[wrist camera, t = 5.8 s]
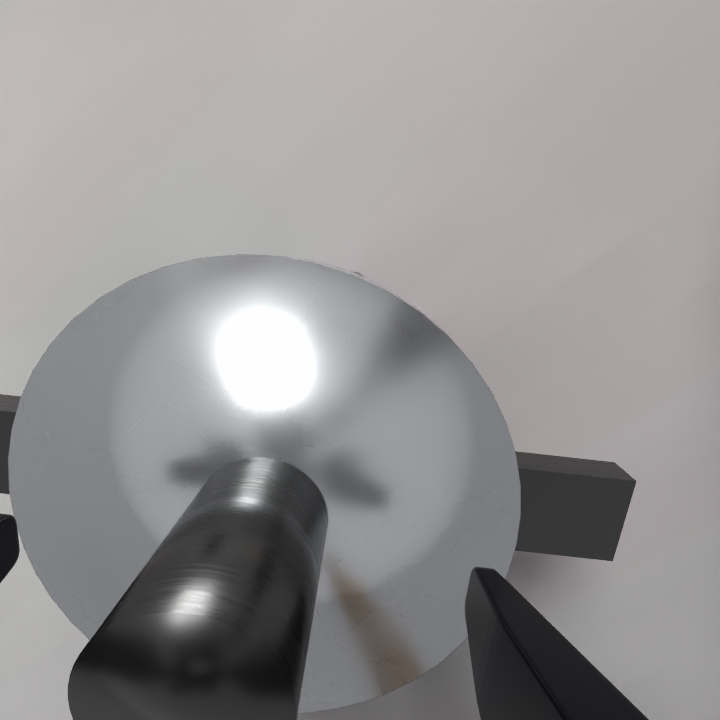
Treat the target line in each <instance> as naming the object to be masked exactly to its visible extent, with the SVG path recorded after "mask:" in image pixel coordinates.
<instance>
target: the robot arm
mask: <svg viewBox="0 0 720 720" xmlns="http://www.w3.org/2000/svg"><path fill="white" fill-rule="evenodd" d="M18 556H19V540H18V530H17V522H16V519H15V518H14V516H12V515H7V514H0V583H1V582H2V580H3V579H4V578H5V576H6V575H7V574H8V573H9V571H10V570H11V569H12V567H13V566H14V565H15V563H16V561H17V559H18ZM465 618H466V626H467V633H468V640H469V647H470V655H471V662H472V669H473V676H474V684H475V690H476V697H477V703H478V708H479V712H480V717H481V720H649V719H648V718H647V717H646V716H644V715H643V714H642V713H641V712H640V711H639V710H638V709H637V708H636V707H635V706H634V705H633V704H632V703H631V702H630V701H629V700H628V699H627V698H626V697H625V696H624V695H623V694H622V693H621V692H620V691H619V690H618V689H617V688H616V687H615V686H614V685H613V684H612V683H611V682H610V681H609V680H608V679H607V678H606V677H605V676H604V675H603V674H602V673H601V672H600V671H598V670H597V669H596V668H595V667H594V666H593V665H592V664H591V663H590V662H589V661H588V660H587V659H586V658H585V657H584V656H583V655H582V654H581V653H580V652H579V651H578V650H577V649H576V648H575V647H574V646H573V645H572V644H571V643H570V642H569V641H568V640H567V639H566V638H565V637H564V636H563V635H562V634H561V633H560V632H559V631H558V630H557V629H556V628H555V627H554V626H552V625H551V624H550V623H549V622H548V621H547V620H546V619H545V618H544V617H543V616H542V615H541V614H540V613H539V612H538V611H537V610H536V609H535V608H534V607H533V606H532V605H531V604H530V603H529V602H528V601H527V600H526V599H525V598H524V597H523V596H522V595H521V594H520V593H519V592H518V591H517V590H516V589H515V588H514V587H513V586H512V585H511V584H510V583H509V582H508V581H506V580H505V579H504V578H503V577H502V576H501V575H500V574H499V573H498V572H497V571H496V570H495V569H492V568H484V567H474V568H473V569H472V571H471V574H470V579H469V584H468V589H467V594H466V599H465Z"/></svg>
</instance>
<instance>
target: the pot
mask: <svg viewBox="0 0 720 720" xmlns="http://www.w3.org/2000/svg"><path fill="white" fill-rule="evenodd" d="M353 273H356V274H358V275H360V276H362V275H361V274H359V273H357V272H353ZM362 277H363V276H362ZM364 278H365V277H364ZM20 398H21V397H20V396H11V395H2V394H0V493H4V494H10V491H9V469H8V457H9V448H10V439H11V431H12V426H13V423H14V419H15V415H16V412H17V408H18V404H19V401H20ZM515 453H516V458H517V465H518V472H519V478H520V485H521V516H520V523H519V529H518V536H517V543H516V547H515V550H517V551H526V552H535V553H544V554H553V555H562V556H571V557H580V558H589V559H598V560H607V561H613V558H614V555H615V552H616V548H617V545H618V541H619V538H620V535H621V531H622V528H623V524H624V521H625V518H626V514H627V511H628V508H629V504H630V501H631V497H632V494H633V491H634V487H635V484H636V480H634V479H633V478H632V477H631V476H630V475H629V474H627V473H626V472H625V471H624V470H623V469H621V468H620V467H619V466H618V465H617V464H616V463H614V462H605V461H596V460H587V459H578V458H569V457H560V456H551V455H542V454H533V453H524V452H515Z"/></svg>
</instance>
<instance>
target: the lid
mask: <svg viewBox="0 0 720 720" xmlns="http://www.w3.org/2000/svg"><path fill="white" fill-rule="evenodd" d="M8 469H9V491H10V497H11V502H12V508H13V514H14V518H15V519H16V522H17V528H18V531H19V534H20V538H21V541H22V544H23V547H24V549H25V551H26V553H27V555H28V557H29V560H30V562H31V564H32V566H33V568H34V570H35V572H36V574H37V576H38V577H39V579H40V581H41V582H42V584H43V585H44V587H45V588H46V590H47V592H48V593H49V595H50V596H51V598H52V599H53V601H54V602H55V603H56V604H57V605H58V607H59V608H60V609H61V610H62V612H63V613H64V614H65V615H66V616H67V618H68V619H69V620H70V621H71V622H72V623H73V624H74V625H75V626H76V627H77V628H78V629H79V630H80V631H81V632H82V633H83V634H84V635H85V636H86V637H87V638H88V639H89V640H90V641H89V642H88V644H87V645H86V646H85V648H84V649H83V650H82V652H81V653H80V655H79V656H78V658H77V660H76V662H75V663H74V666H73V668H72V671H71V674H70V678H69V684H68V701H69V707H70V711H71V714H72V717H73V720H296V719H297V713H310V712H317V711H323V710H330V709H337V708H341V707H345V706H349V705H353V704H357V703H361V702H364V701H367V700H370V699H373V698H375V697H378V696H381V695H383V694H386V693H388V692H391V691H393V690H395V689H397V688H399V687H401V686H403V685H405V684H407V683H409V682H411V681H412V680H414V679H416V678H418V677H419V676H421V675H422V674H424V673H425V672H427V671H428V670H430V669H431V668H433V667H434V666H436V665H437V664H439V663H440V662H441V661H442V660H443V659H445V658H446V657H447V656H448V655H449V654H450V653H451V652H453V651H454V650H455V649H456V648H457V647H458V646H459V645H460V644H462V642H463V641H464V640H465V639H466V638H467V637H468V633H467V626H466V618H465V599H466V594H467V589H468V584H469V579H470V574H471V571H472V569H473V568H474V567H484V568H492V569H495V570H496V571H497V572H498V573H499V574H500V575H501V576H502V577H503V578H504V579H505V577H506V575H507V573H508V570H509V567H510V564H511V560H512V557H513V554H514V550H515V547H516V543H517V536H518V529H519V523H520V516H521V485H520V478H519V472H518V465H517V458H516V453H515V450H514V446H513V443H512V440H511V437H510V433H509V430H508V427H507V424H506V421H505V419H504V417H503V415H502V413H501V411H500V409H499V406H498V404H497V402H496V400H495V398H494V396H493V394H492V392H491V390H490V389H489V387H488V386H487V384H486V383H485V381H484V380H483V378H482V377H481V375H480V374H479V372H478V371H477V369H476V368H475V366H474V365H473V363H472V362H471V361H470V360H469V359H468V358H467V356H466V355H465V354H464V353H463V352H462V351H461V350H460V349H459V347H458V346H457V345H456V344H455V343H454V342H453V341H452V340H451V338H450V337H449V336H448V335H447V334H446V333H445V332H444V331H443V330H442V329H441V328H440V327H439V326H437V325H436V324H435V323H434V322H433V321H432V320H430V319H429V318H428V317H427V316H426V315H425V314H423V313H422V312H421V311H420V310H419V309H418V308H416V307H415V306H414V305H412V304H410V303H409V302H407V301H406V300H404V299H403V298H401V297H400V296H398V295H397V294H395V293H393V292H392V291H390V290H389V289H387V288H385V287H383V286H381V285H379V284H377V283H375V282H373V281H370V280H368V279H366V278H364V277H362V276H360V275H358V274H356V273H353V272H350V271H347V270H344V269H340V268H337V267H334V266H331V265H328V264H325V263H321V262H317V261H311V260H305V259H300V258H294V257H288V256H273V255H246V254H237V255H227V256H217V257H206V258H198V259H194V260H190V261H186V262H182V263H178V264H173V265H169V266H165V267H162V268H160V269H157V270H155V271H152V272H150V273H147V274H145V275H142V276H139V277H137V278H134V279H132V280H130V281H128V282H126V283H124V284H123V285H121V286H119V287H118V288H116V289H114V290H112V291H111V292H109V293H107V294H106V295H104V296H102V297H100V298H99V299H98V300H96V301H95V302H94V303H93V304H91V305H90V306H89V307H88V308H86V309H85V310H84V311H83V312H81V313H80V314H79V315H78V316H77V317H75V318H74V319H73V320H72V321H71V322H70V323H69V324H68V325H67V326H66V327H65V329H64V330H63V331H62V332H61V333H60V334H59V335H58V336H57V337H56V338H55V340H54V341H53V342H52V343H51V344H50V345H49V347H48V348H47V350H46V352H45V353H44V355H43V356H42V358H41V359H40V361H39V362H38V364H37V365H36V367H35V368H34V370H33V371H32V374H31V376H30V378H29V380H28V383H27V385H26V387H25V389H24V391H23V394H22V396H21V398H20V401H19V404H18V408H17V412H16V415H15V419H14V423H13V426H12V431H11V439H10V448H9V457H8Z"/></svg>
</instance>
